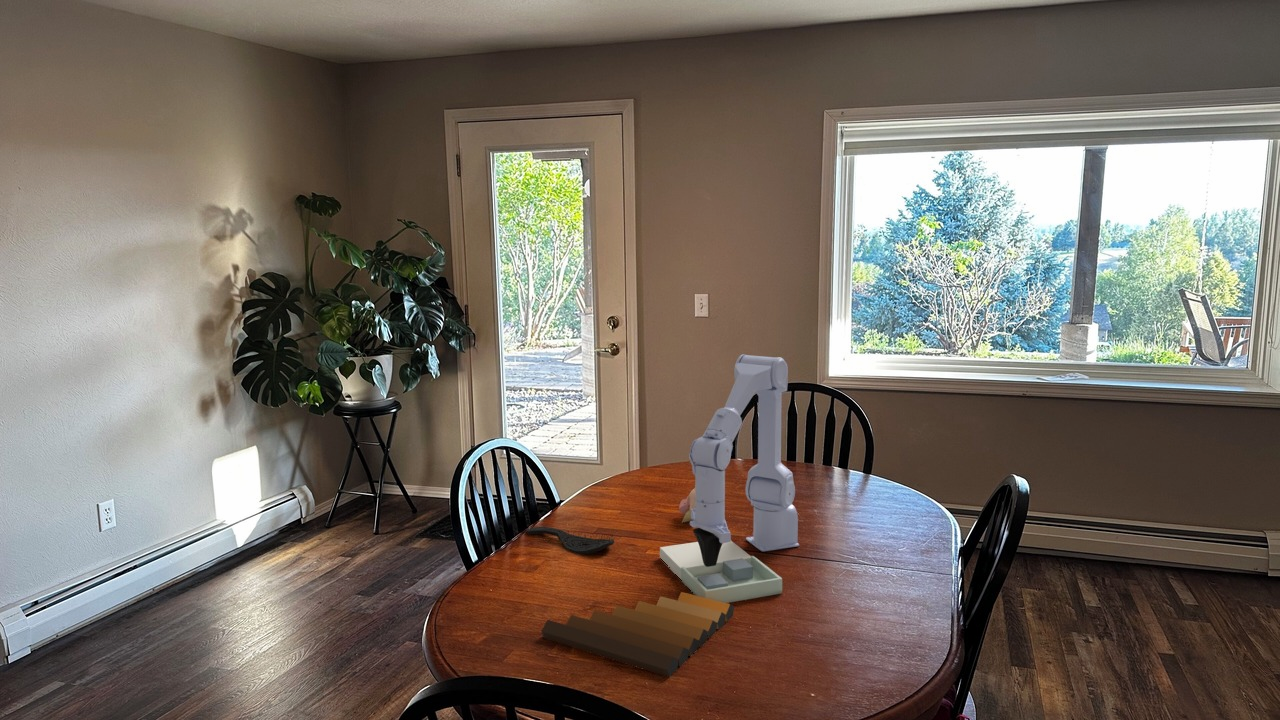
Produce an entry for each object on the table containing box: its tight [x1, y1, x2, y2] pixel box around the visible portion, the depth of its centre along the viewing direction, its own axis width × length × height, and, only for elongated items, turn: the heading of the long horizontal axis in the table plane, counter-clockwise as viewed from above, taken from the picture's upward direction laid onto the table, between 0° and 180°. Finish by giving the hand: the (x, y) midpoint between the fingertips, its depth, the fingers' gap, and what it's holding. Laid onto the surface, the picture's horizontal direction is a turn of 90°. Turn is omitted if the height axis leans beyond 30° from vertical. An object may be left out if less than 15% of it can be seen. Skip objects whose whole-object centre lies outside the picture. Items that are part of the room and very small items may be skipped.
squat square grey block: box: [723, 558, 753, 582], centre depth 162 cm, size 4×4×2 cm
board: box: [659, 540, 752, 580], centre depth 170 cm, size 16×12×2 cm
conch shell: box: [678, 487, 695, 524], centre depth 195 cm, size 9×10×10 cm
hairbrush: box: [525, 525, 615, 555], centre depth 183 cm, size 8×4×25 cm
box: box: [680, 555, 783, 604], centre depth 158 cm, size 16×12×3 cm
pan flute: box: [541, 591, 735, 678], centre depth 143 cm, size 25×3×25 cm
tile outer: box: [697, 574, 728, 590], centre depth 155 cm, size 4×4×2 cm
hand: (709, 564), depth 158 cm, fingers closed
